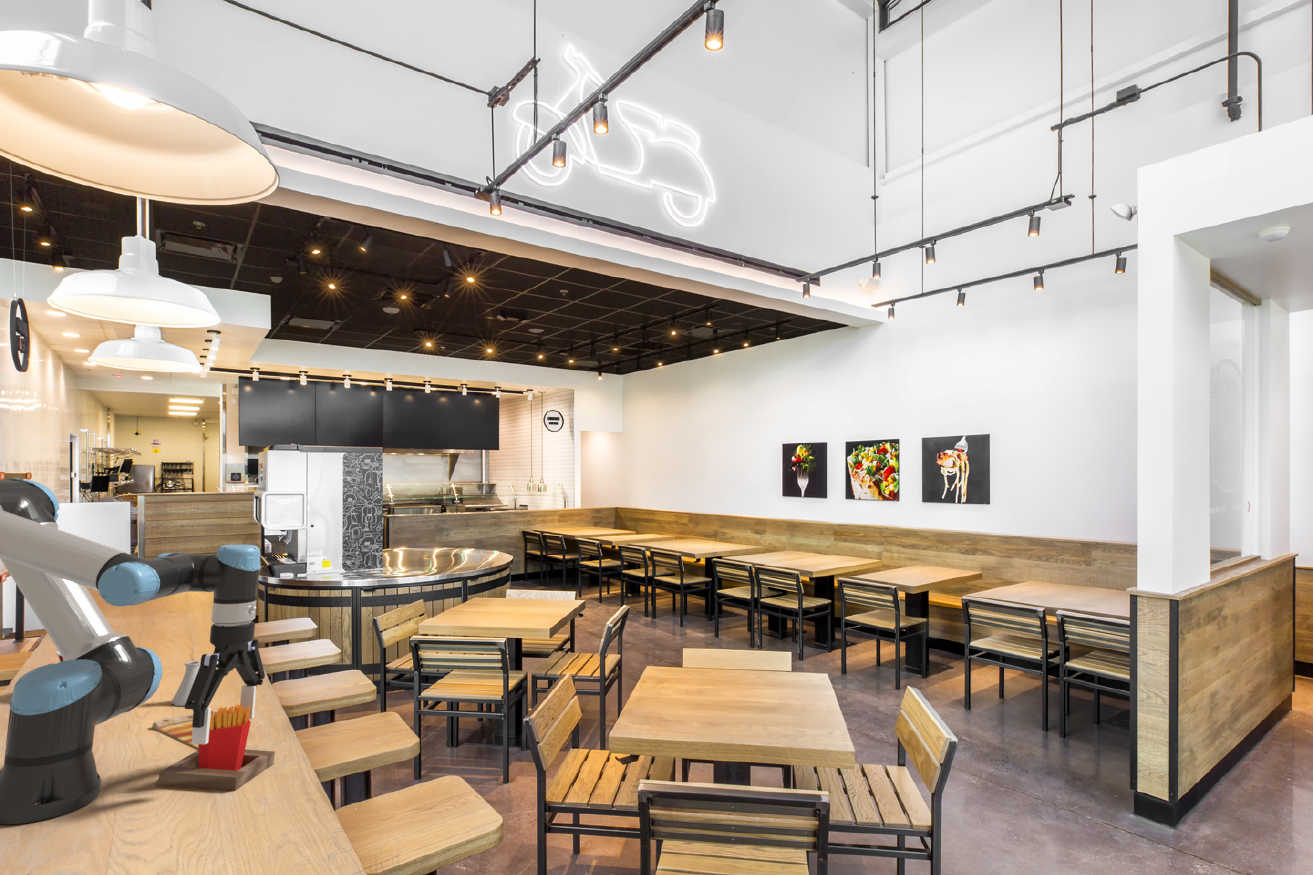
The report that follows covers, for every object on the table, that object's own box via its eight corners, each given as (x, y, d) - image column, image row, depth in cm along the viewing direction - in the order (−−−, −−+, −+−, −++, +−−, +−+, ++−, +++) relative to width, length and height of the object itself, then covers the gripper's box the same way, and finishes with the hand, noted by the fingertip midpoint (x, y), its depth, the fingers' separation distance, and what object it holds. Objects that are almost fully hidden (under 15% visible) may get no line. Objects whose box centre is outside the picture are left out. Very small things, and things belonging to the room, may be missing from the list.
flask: (188, 708, 164) (192, 667, 165) (164, 704, 166) (168, 664, 166) (213, 699, 171) (216, 660, 172) (190, 696, 173) (194, 657, 173)
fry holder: (235, 790, 124) (236, 776, 124) (158, 785, 125) (159, 771, 125) (273, 763, 136) (274, 751, 136) (203, 758, 137) (204, 746, 137)
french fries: (243, 764, 135) (249, 700, 136) (246, 772, 132) (253, 706, 133) (189, 775, 129) (196, 708, 130) (191, 783, 126) (198, 714, 127)
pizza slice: (116, 758, 136) (117, 748, 136) (164, 719, 157) (165, 711, 157) (202, 753, 140) (203, 744, 140) (238, 716, 161) (239, 708, 162)
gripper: (207, 637, 120) (197, 756, 118) (287, 611, 145) (280, 709, 143) (167, 635, 120) (156, 754, 119) (254, 609, 145) (246, 707, 144)
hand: (224, 730), depth 131 cm, fingers open, 13 cm apart
